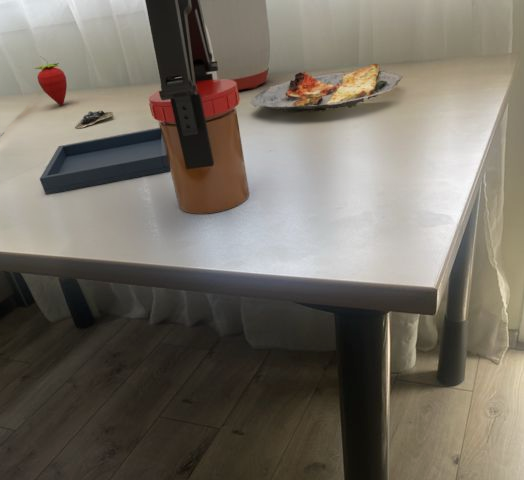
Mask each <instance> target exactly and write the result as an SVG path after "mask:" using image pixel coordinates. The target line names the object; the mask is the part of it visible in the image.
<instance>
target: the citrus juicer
mask: <svg viewBox="0 0 524 480" xmlns="http://www.w3.org/2000/svg"><path fill="white" fill-rule="evenodd" d="M200 4H201V9H202V13H203V18H204V23H205V25H206V27H207V30H208V33H209V36H210V40H211V45H212V50H213V56H214V61H217V64H218V71H216V73H217V78H218V79H227V80H233V81H235V82H236V84H237V87H238V91H240V90H245V89H247V90H251V89H256V88H258V86H259V85H262V84H264V83H265V82H266V81H267V78H268V74H269V69H270V68H269V64H270V58H271V57H270V56H271V40H270V39H271V38H270V37H271V36H270V28H269V27H270V26H269V18H268V17H269V16H268V9H267V1H266V0H200Z"/></svg>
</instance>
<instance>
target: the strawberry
mask: <svg viewBox="0 0 524 480" xmlns="http://www.w3.org/2000/svg"><path fill="white" fill-rule="evenodd" d="M39 57H40V58H42V59H43V60H45V61H46V59H45V57H42V56H41V55H40V56H39ZM59 64H60V63H59V62H58V63H57V62H56V63H49V62H48V61H46V65H41V66H38V67H34V69H35V70H41V71H39V72H38V74H37V83H38V84H39V86H40V88H41V89H42V91H43V92H44V93H45V94H46V95H47V96H48V97H49V98H50V99H52V100H53V101H54V102H55V103H56V104H57V105H59V106H64V104H65V99H66V95H67V88H68V85H67V76H66V75H65V72H64V70H62V69H60V68H59V67H58V66H59Z"/></svg>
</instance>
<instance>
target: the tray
mask: <svg viewBox="0 0 524 480" xmlns="http://www.w3.org/2000/svg"><path fill="white" fill-rule="evenodd" d="M167 172H171V171H170V167H169V163H168V159H167V155H166V151H165V146H164V142H163V138H162V134H161V130H160V127H154V128H150V129H145V130H139V131H133V132H129V133H123V134H117V135H111V136H107V137H101V138H95V139H90V140H86V141H79V142H74V143H68V144H64V145H63V144H62V145H59V146H58V147H57V149H56V150H55V152H54V153H53V154H52V157H51V158H50V160H49V161H48V164H47V165H46V166H45V169H44V171H43V172H42V174H41V176H40V177H39V181H40V185H41V186H42V189H43V192H44V194H45V195H50V194H57V193H61V192H66V191H71V190H76V189H82V188H88V187H94V186H97V185H98V186H99V185H103V184H109V183H115V182H119V181H120V182H121V181H124V180H129V179H130V180H131V179H135V178H141V177H146V176H151V175H156V174H162V173H167Z"/></svg>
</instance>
